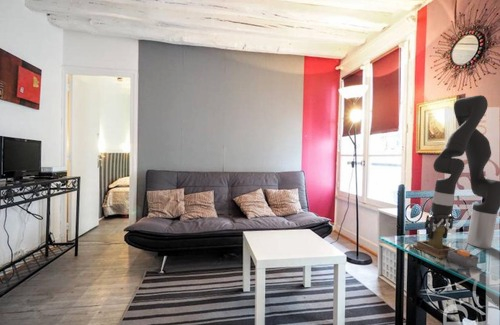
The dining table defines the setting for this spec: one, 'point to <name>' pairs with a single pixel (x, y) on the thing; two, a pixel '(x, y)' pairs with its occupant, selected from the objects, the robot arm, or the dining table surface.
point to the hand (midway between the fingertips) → (436, 238)
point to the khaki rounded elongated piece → (437, 238)
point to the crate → (433, 249)
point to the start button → (463, 252)
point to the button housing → (462, 259)
